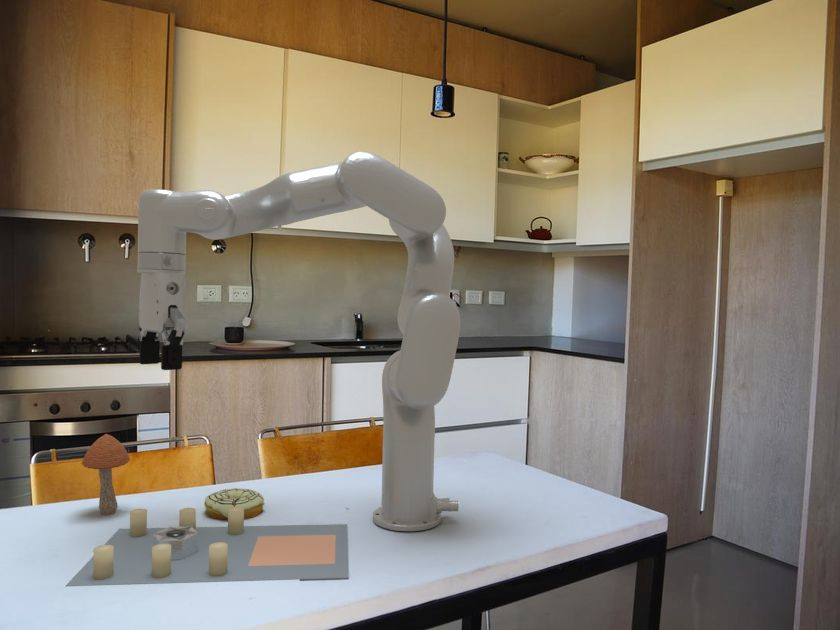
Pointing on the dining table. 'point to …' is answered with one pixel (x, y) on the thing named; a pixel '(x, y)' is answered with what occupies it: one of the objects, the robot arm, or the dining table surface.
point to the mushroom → (106, 468)
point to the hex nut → (178, 541)
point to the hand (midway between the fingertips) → (160, 366)
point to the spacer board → (199, 562)
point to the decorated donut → (234, 502)
